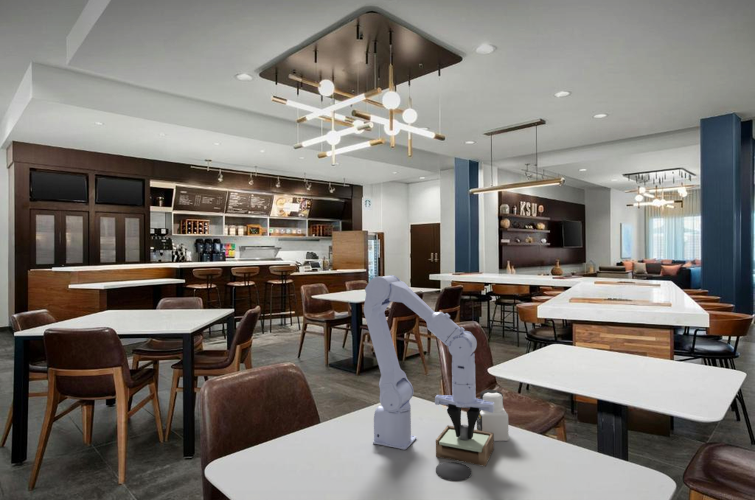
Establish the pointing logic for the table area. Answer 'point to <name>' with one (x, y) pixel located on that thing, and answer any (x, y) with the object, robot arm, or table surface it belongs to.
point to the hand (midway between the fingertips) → (464, 436)
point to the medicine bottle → (494, 416)
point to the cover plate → (464, 440)
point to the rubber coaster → (453, 471)
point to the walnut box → (464, 454)
